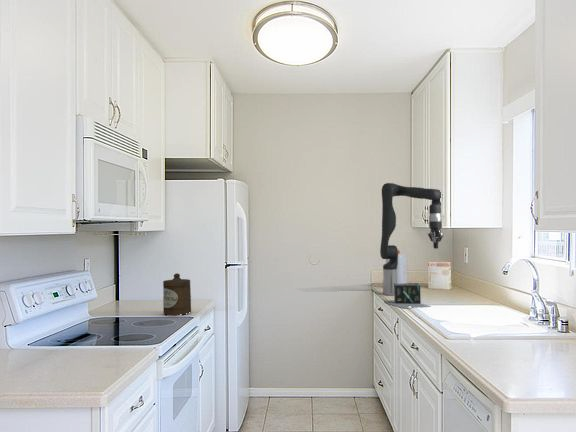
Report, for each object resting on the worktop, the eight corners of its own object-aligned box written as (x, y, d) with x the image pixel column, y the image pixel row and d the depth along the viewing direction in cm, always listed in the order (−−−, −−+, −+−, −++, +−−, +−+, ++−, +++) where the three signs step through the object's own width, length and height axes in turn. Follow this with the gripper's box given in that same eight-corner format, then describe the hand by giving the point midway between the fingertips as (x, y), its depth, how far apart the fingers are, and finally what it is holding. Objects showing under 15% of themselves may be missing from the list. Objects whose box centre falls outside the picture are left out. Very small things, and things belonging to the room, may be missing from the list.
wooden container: (158, 313, 255) (158, 273, 255) (181, 310, 265) (181, 271, 266) (172, 317, 244) (172, 275, 245) (196, 313, 255) (196, 273, 255)
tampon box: (418, 283, 283) (393, 283, 285) (420, 285, 274) (395, 285, 276) (418, 301, 283) (394, 300, 285) (420, 303, 274) (395, 303, 275)
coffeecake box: (451, 288, 338) (451, 261, 338) (449, 289, 332) (448, 262, 332) (430, 287, 346) (430, 261, 346) (428, 288, 340) (427, 262, 340)
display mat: (383, 302, 281) (383, 302, 281) (408, 300, 286) (408, 300, 286) (404, 308, 260) (404, 308, 260) (430, 306, 265) (430, 306, 265)
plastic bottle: (382, 288, 345) (382, 250, 345) (390, 286, 357) (390, 249, 358) (402, 289, 336) (401, 251, 337) (409, 287, 348) (409, 250, 349)
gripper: (423, 221, 295) (424, 248, 295) (436, 220, 283) (437, 249, 283) (433, 220, 298) (434, 247, 297) (447, 220, 285) (447, 248, 285)
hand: (435, 248), depth 290 cm, fingers closed
